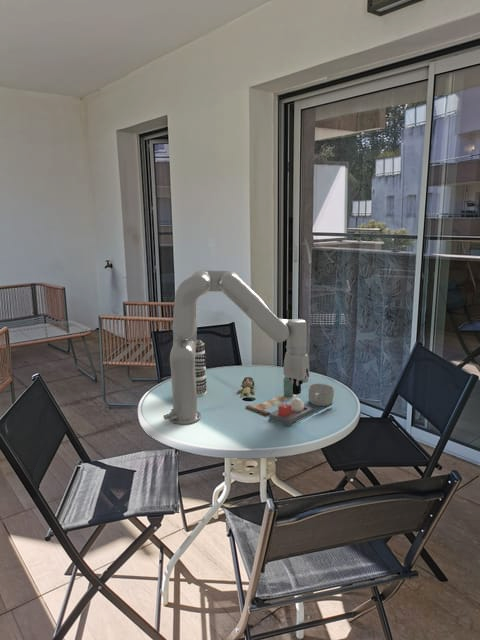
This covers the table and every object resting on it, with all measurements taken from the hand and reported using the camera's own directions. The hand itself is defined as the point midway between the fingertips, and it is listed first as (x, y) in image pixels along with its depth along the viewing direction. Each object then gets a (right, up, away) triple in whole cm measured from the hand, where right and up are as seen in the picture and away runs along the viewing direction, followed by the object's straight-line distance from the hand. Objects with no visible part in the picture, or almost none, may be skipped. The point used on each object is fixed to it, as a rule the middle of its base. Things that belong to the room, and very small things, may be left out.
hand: (296, 393), depth 194 cm
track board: (-7, -6, +14) cm, 17 cm away
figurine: (-20, -4, +26) cm, 33 cm away
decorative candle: (-43, -4, +28) cm, 51 cm away
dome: (0, -7, +1) cm, 7 cm away
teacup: (+11, -7, +10) cm, 17 cm away
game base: (-2, -9, 0) cm, 10 cm away
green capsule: (-1, -4, +20) cm, 20 cm away
